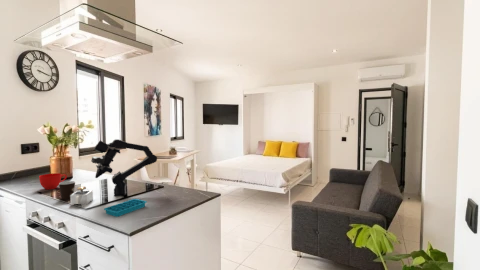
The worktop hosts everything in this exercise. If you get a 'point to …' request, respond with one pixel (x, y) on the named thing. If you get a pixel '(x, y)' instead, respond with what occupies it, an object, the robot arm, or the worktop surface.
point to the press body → (81, 197)
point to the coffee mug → (67, 189)
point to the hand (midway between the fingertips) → (95, 177)
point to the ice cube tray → (125, 207)
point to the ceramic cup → (51, 180)
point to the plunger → (81, 189)
